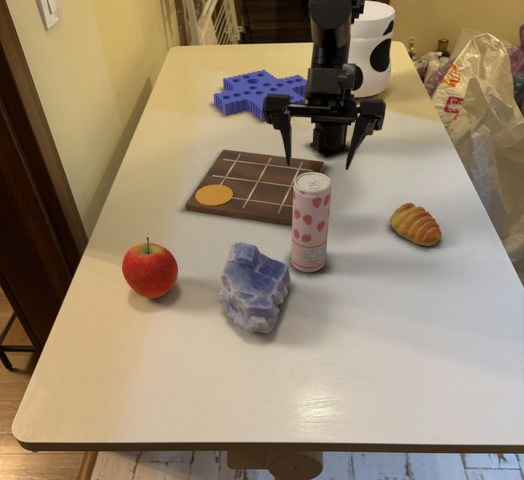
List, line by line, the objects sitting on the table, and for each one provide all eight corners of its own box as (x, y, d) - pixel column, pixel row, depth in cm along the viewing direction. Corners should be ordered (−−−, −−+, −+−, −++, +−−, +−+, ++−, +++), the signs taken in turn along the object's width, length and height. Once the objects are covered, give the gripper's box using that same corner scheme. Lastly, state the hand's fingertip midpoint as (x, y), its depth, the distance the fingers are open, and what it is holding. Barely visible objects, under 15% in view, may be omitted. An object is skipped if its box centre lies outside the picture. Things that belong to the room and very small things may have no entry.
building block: (223, 126, 121) (222, 115, 119) (206, 86, 137) (205, 76, 135) (325, 112, 124) (326, 102, 123) (297, 75, 140) (297, 65, 138)
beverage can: (302, 277, 84) (306, 195, 73) (284, 258, 87) (286, 177, 76) (331, 266, 86) (340, 184, 75) (313, 248, 89) (318, 167, 78)
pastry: (449, 240, 90) (454, 221, 87) (420, 253, 88) (424, 235, 85) (412, 214, 95) (416, 196, 92) (383, 226, 93) (387, 208, 90)
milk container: (305, 89, 134) (308, 8, 121) (355, 72, 141) (363, -6, 127) (351, 112, 125) (359, 27, 111) (402, 93, 131) (416, 11, 118)
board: (223, 154, 112) (223, 148, 111) (323, 166, 108) (324, 160, 106) (186, 210, 98) (185, 203, 97) (299, 227, 94) (299, 220, 92)
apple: (119, 294, 82) (103, 243, 75) (157, 269, 86) (145, 217, 79) (153, 317, 79) (140, 265, 71) (191, 289, 83) (182, 237, 75)
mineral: (224, 230, 78) (290, 232, 76) (234, 274, 85) (294, 277, 84) (201, 302, 70) (274, 307, 68) (214, 344, 77) (280, 349, 75)
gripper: (263, 35, 74) (251, 146, 75) (395, 40, 71) (381, 154, 72) (272, 73, 85) (262, 169, 86) (387, 78, 83) (375, 177, 83)
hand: (317, 167), depth 82 cm, fingers open, 9 cm apart
